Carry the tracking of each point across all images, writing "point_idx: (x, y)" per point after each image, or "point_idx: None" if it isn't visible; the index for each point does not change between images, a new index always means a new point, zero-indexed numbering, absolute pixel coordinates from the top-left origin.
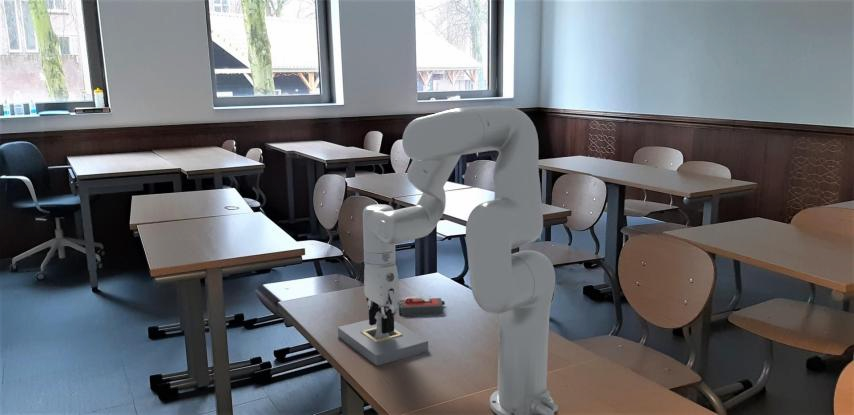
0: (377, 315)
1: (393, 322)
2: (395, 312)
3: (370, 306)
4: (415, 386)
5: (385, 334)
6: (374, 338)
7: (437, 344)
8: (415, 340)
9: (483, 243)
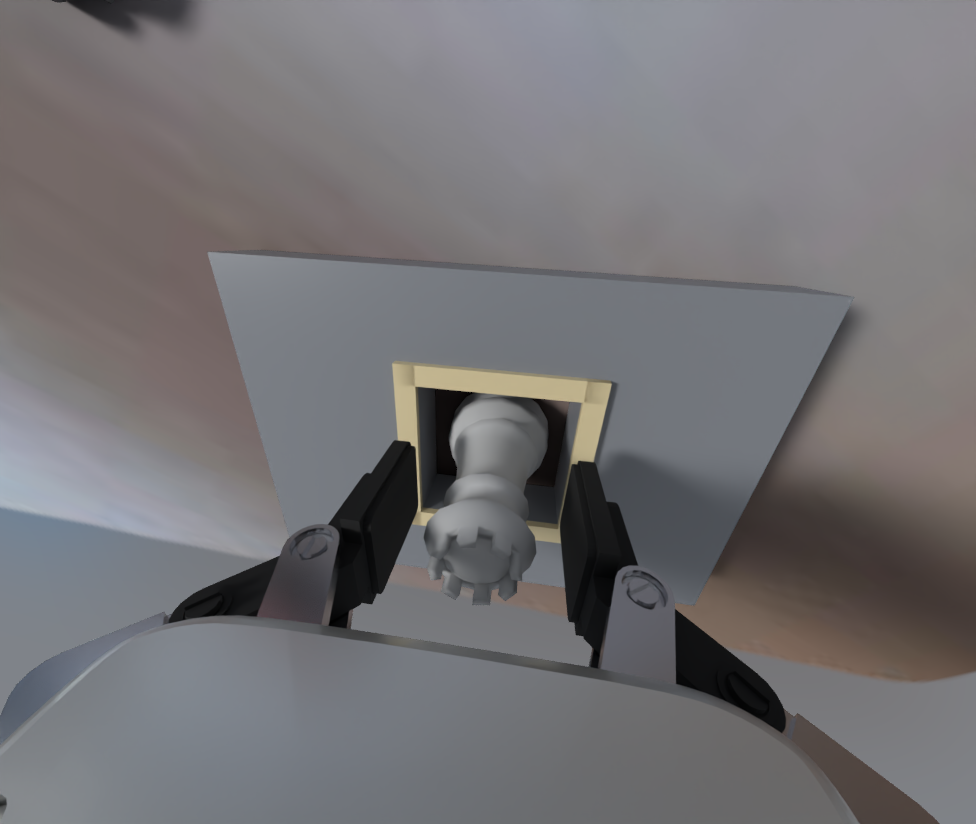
0: (482, 597)
1: (606, 508)
2: (754, 677)
3: (349, 626)
4: (969, 567)
5: (530, 462)
6: (535, 528)
7: (790, 143)
8: (750, 365)
9: None
